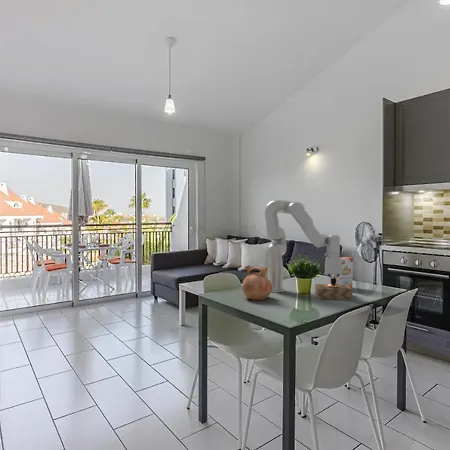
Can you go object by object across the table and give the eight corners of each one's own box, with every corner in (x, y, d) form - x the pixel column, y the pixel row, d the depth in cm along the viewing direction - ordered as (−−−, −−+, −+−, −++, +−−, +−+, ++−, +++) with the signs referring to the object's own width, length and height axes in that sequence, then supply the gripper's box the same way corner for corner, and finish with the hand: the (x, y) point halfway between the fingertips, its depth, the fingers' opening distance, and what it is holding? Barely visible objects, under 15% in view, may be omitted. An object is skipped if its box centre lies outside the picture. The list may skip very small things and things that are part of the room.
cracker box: (338, 290, 233) (338, 259, 233) (331, 288, 239) (331, 258, 238) (353, 288, 240) (353, 257, 240) (346, 286, 246) (346, 256, 245)
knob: (328, 296, 214) (328, 285, 214) (326, 294, 221) (326, 283, 221) (339, 297, 213) (339, 286, 213) (337, 294, 220) (337, 283, 220)
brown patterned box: (317, 298, 212) (317, 288, 211) (315, 293, 225) (315, 284, 225) (352, 299, 209) (352, 289, 209) (347, 294, 223) (347, 284, 222)
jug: (277, 297, 216) (277, 264, 215) (263, 303, 201) (263, 268, 200) (251, 293, 226) (251, 262, 226) (236, 299, 211) (236, 266, 211)
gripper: (321, 255, 213) (321, 285, 214) (347, 255, 211) (347, 286, 212) (320, 254, 221) (320, 283, 221) (344, 254, 219) (344, 283, 219)
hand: (333, 284), depth 217 cm, fingers closed
